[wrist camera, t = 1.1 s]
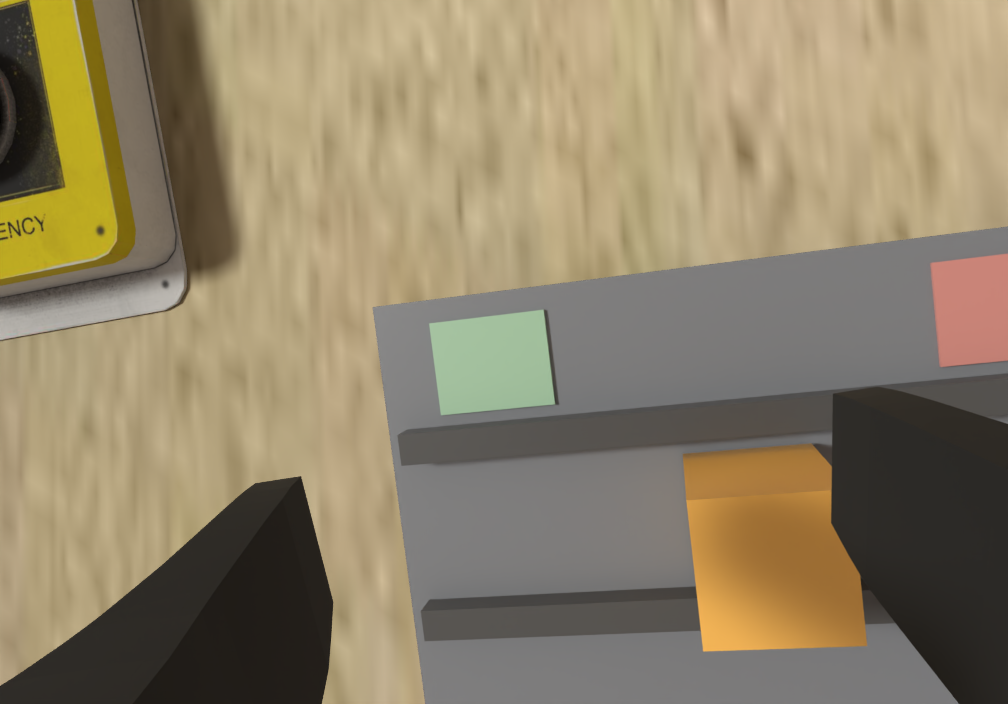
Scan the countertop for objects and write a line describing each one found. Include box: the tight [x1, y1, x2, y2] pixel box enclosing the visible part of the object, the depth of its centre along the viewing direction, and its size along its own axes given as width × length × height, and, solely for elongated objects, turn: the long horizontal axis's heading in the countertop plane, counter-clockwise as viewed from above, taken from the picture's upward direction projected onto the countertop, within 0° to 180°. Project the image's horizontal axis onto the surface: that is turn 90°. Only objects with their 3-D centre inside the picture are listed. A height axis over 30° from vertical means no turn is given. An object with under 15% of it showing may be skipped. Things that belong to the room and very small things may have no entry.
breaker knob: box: [683, 443, 867, 652], centre depth 18 cm, size 3×3×4 cm
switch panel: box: [373, 227, 1008, 704], centre depth 21 cm, size 12×18×4 cm, turn 97°
